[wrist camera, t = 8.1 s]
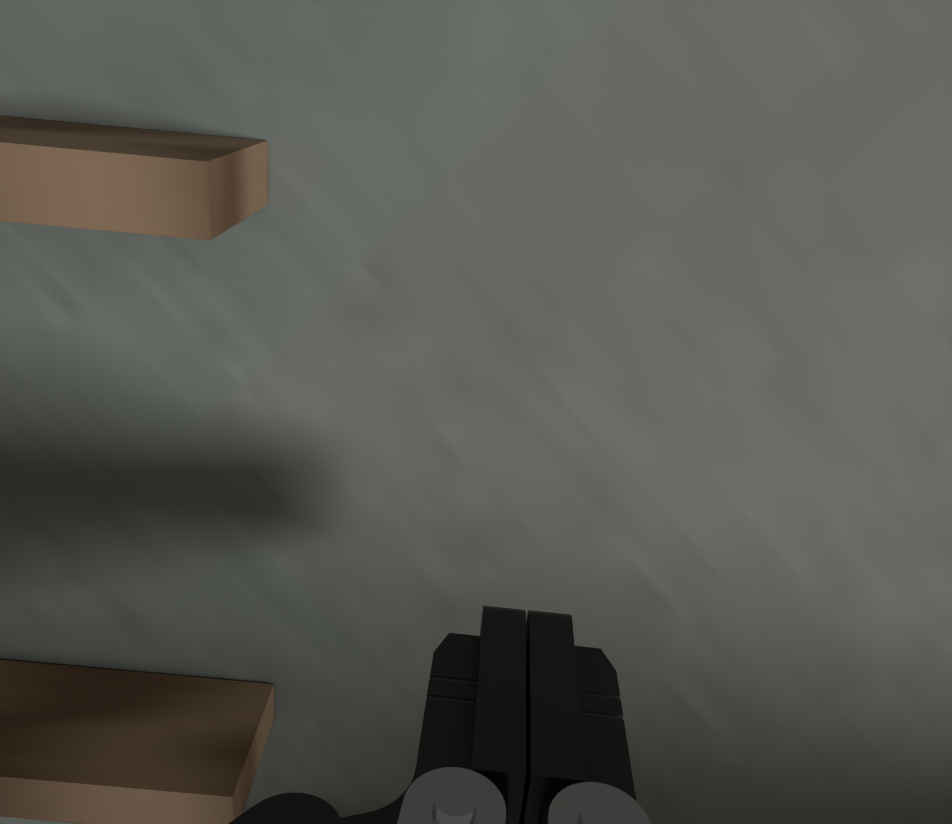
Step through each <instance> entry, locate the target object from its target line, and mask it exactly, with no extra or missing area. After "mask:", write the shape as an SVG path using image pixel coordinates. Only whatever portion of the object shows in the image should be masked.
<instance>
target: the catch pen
mask: <svg viewBox="0 0 952 824" xmlns="http://www.w3.org/2000/svg"><path fill="white" fill-rule="evenodd" d="M266 205H268V167H267V141H266V140H255V139H244V138H234V137H223V136H212V135H202V134H191V133H180V132H170V131H159V130H148V129H138V128H127V127H116V126H106V125H95V124H84V123H73V122H63V121H52V120H41V119H31V118H20V117H9V116H0V221H8V222H19V223H30V224H41V225H51V226H62V227H73V228H84V229H94V230H105V231H116V232H127V233H138V234H148V235H159V236H170V237H181V238H191V239H202V240H211V239H213V238H215V237H216V236H218V235H219V234H221V233H223V232H224V231H226V230H227V229H229V228H231V227H232V226H234V225H235V224H237V223H239V222H240V221H242V220H244V219H245V218H247V217H248V216H250V215H252V214H253V213H255V212H256V211H258V210H260V209H261V208H263V207H264V206H266ZM273 722H274V684H267V683H256V682H245V681H234V680H223V679H211V678H200V677H189V676H178V675H167V674H155V673H144V672H133V671H122V670H111V669H100V668H88V667H77V666H66V665H55V664H44V663H33V662H21V661H10V660H0V816H1V817H13V818H24V819H35V820H47V821H58V822H69V823H81V824H228V823H230V822H231V821H233V820H234V819H236V818H237V817H239V816H240V815H241V814H242V812H243V809H244V806H245V803H246V800H247V798H248V795H249V792H250V789H251V786H252V783H253V780H254V777H255V774H256V772H257V769H258V766H259V763H260V760H261V757H262V754H263V751H264V748H265V746H266V743H267V740H268V737H269V734H270V731H271V728H272V725H273Z"/></svg>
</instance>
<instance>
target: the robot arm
mask: <svg viewBox="0 0 952 824" xmlns="http://www.w3.org/2000/svg"><path fill="white" fill-rule="evenodd" d="M228 824H651V823H650V820H649V818H648V816H647V814H646V812H645V811H644V809H643V808H642V807H641V806H640V804H639V803H638V802H637V800H636V796H635V791H634V785H633V778H632V771H631V765H630V758H629V752H628V745H627V739H626V732H625V726H624V720H623V712H622V706H621V700H620V693H619V686H618V680H617V673H616V670H615V669H614V667H613V666H612V664H611V663H610V662H609V660H608V659H607V657H606V656H605V654H604V653H603V652H602V650H601V649H599V648H589V647H580V646H574V636H573V624H572V616H571V615H568V614H559V613H549V612H539V611H530V610H529V611H528V614H527V620H526V613H525V610H519V609H509V608H500V607H490V606H483V612H482V621H481V630H480V636H473V635H464V634H454V633H449V634H448V635H447V637H446V638H445V639H444V640H443V641H442V643H441V644H440V645H439V646H438V648H437V649H436V650H435V651H434V654H433V661H432V667H431V674H430V680H429V687H428V693H427V699H426V706H425V712H424V719H423V725H422V732H421V738H420V745H419V751H418V758H417V764H416V770H415V774H414V777H413V780H412V782H411V784H410V785H409V787H408V788H407V790H406V791H405V792H404V793H403V794H402V795H401V796H400V797H399V798H398V799H396V800H395V801H394V802H392V803H391V804H389V805H387V806H385V807H383V808H381V809H378V810H376V811H372V812H368V813H364V814H359V815H353V816H348V817H342V818H340V816H339V815H338V813H337V811H336V810H335V809H334V808H333V807H332V806H331V805H330V804H329V803H327V802H326V801H324V800H322V799H321V798H319V797H316V796H313V795H310V794H304V793H285V794H280V795H276V796H272V797H270V798H268V799H265V800H263V801H261V802H260V803H258V804H256V805H255V806H253V807H252V808H250V809H249V810H247V811H246V812H244V813H243V814H241V815H240V816H239V817H237V818H236V819H234V820H233V821H231V822H230V823H228Z"/></svg>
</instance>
